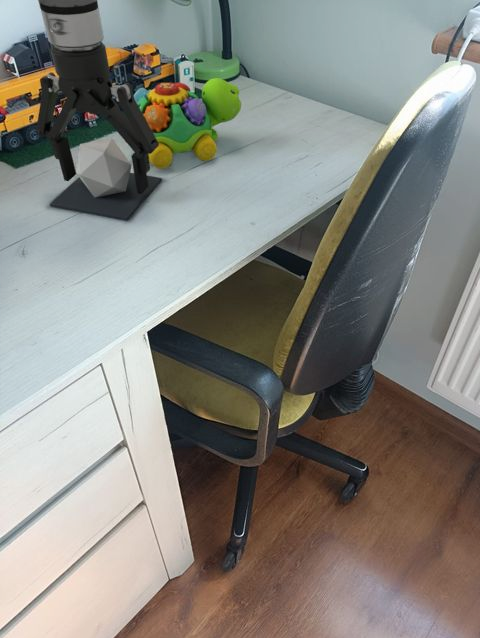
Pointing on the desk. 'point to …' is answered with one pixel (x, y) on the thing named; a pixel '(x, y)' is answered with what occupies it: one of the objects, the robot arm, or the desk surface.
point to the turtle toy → (187, 117)
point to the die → (103, 167)
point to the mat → (105, 199)
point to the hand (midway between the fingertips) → (106, 183)
